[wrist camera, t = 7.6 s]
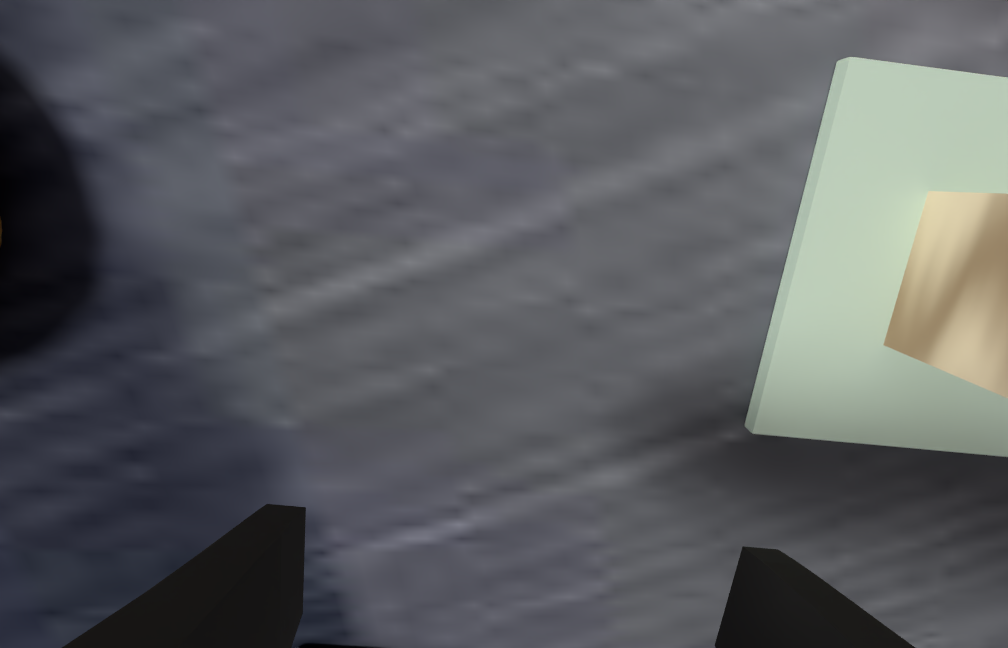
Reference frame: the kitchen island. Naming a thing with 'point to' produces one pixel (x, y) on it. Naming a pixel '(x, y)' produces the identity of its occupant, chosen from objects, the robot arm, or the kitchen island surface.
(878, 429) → the mat
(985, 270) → the cube
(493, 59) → the kitchen island surface
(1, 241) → the decorated donut
